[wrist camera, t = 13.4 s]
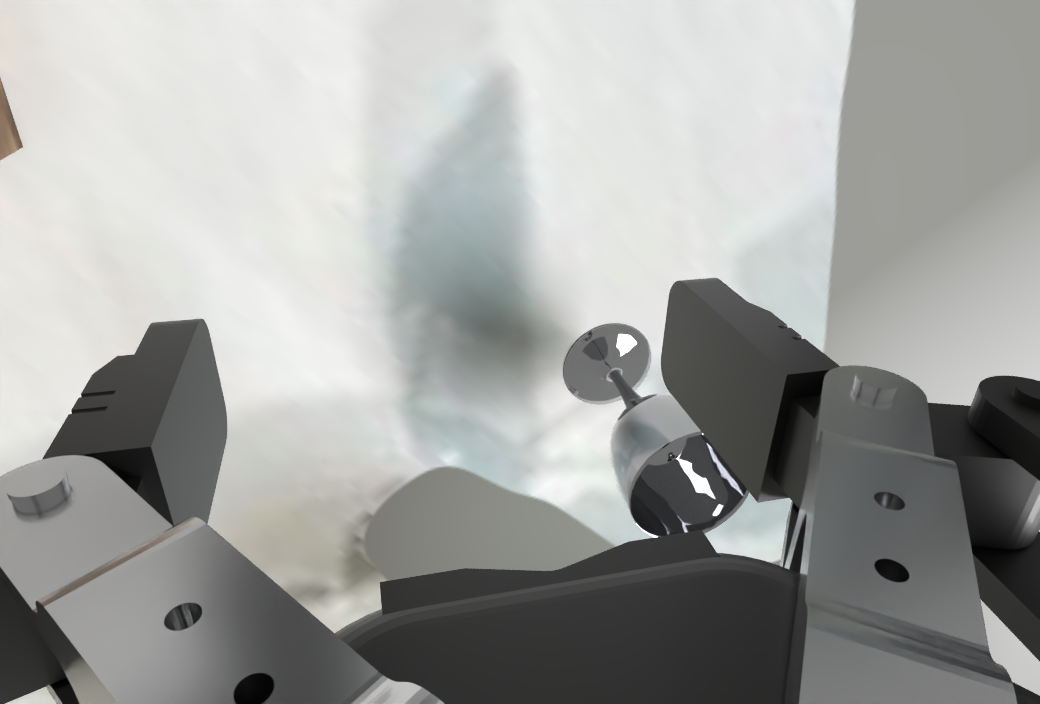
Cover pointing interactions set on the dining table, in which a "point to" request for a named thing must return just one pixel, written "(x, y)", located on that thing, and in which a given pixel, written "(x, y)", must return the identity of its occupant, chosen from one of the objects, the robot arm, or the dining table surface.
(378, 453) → the dining table surface
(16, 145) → the tray
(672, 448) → the wine glass
